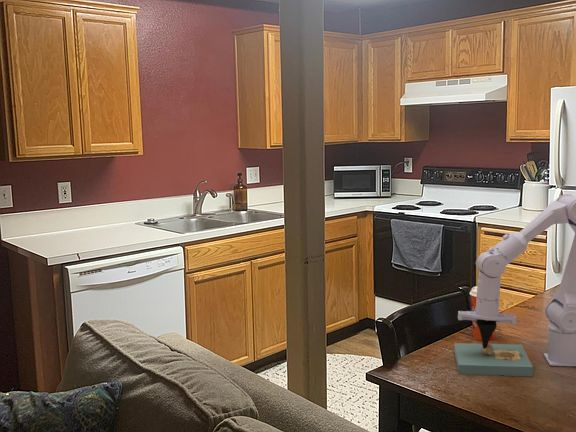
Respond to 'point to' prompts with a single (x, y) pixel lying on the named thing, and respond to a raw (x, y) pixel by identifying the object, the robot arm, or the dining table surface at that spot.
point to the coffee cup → (475, 327)
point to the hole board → (492, 360)
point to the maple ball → (488, 350)
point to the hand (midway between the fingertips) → (484, 347)
